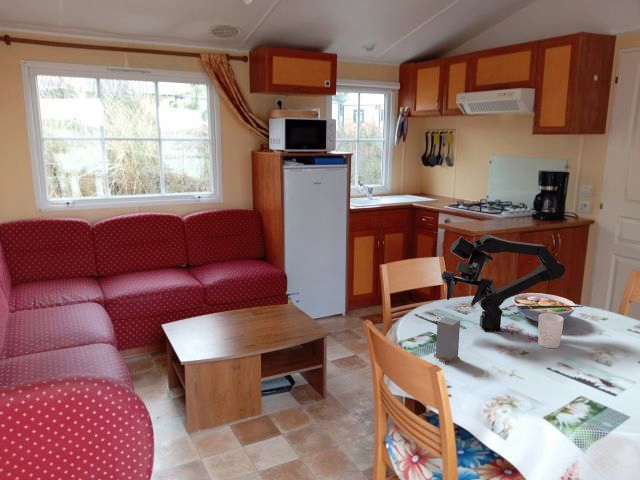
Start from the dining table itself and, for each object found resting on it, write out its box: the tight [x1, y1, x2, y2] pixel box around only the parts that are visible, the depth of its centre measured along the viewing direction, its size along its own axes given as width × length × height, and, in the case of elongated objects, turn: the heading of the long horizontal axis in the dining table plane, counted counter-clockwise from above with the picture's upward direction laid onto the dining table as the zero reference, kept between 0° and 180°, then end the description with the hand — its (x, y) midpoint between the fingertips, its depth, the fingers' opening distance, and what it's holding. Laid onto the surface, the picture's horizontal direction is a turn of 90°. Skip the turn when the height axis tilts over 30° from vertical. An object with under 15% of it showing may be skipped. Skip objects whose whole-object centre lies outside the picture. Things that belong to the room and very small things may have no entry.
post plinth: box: [433, 352, 461, 364], centre depth 163 cm, size 6×6×6 cm
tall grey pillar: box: [435, 316, 461, 361], centre depth 163 cm, size 5×5×12 cm
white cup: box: [537, 313, 565, 349], centre depth 173 cm, size 8×8×10 cm
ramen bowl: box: [511, 292, 585, 323], centre depth 196 cm, size 25×23×8 cm
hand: (459, 302), depth 177 cm, fingers open, 9 cm apart
